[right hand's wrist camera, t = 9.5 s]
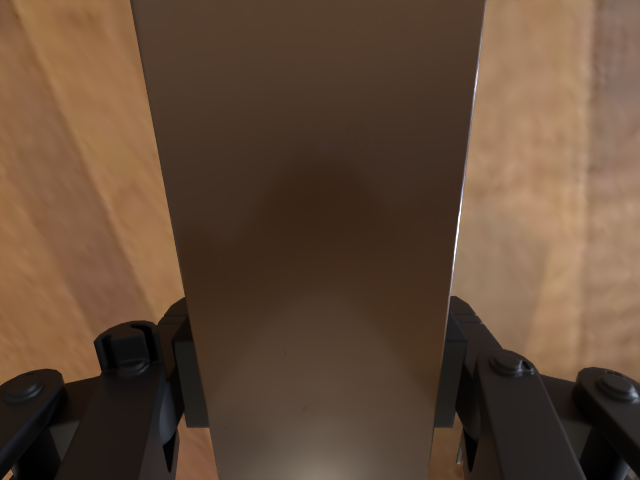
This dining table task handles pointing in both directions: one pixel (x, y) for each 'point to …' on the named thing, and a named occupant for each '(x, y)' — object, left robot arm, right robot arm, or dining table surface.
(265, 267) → the bar
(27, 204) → the dining table surface
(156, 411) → the right robot arm
